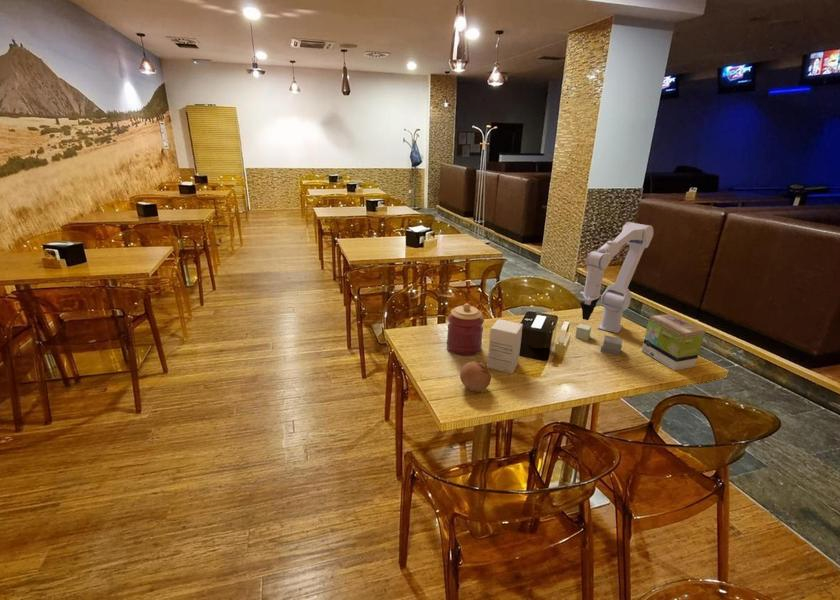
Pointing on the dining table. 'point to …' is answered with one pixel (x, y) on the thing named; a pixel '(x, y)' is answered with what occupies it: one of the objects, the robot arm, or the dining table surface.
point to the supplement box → (504, 346)
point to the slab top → (612, 343)
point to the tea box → (673, 341)
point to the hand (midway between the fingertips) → (587, 316)
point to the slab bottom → (610, 351)
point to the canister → (465, 330)
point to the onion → (475, 376)
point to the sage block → (583, 331)
